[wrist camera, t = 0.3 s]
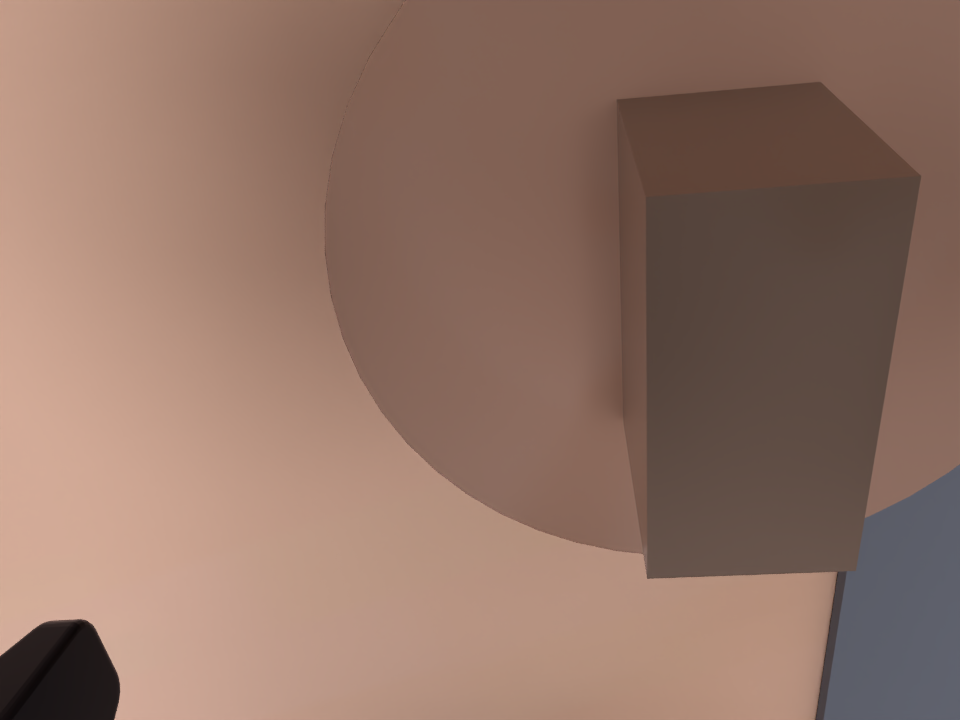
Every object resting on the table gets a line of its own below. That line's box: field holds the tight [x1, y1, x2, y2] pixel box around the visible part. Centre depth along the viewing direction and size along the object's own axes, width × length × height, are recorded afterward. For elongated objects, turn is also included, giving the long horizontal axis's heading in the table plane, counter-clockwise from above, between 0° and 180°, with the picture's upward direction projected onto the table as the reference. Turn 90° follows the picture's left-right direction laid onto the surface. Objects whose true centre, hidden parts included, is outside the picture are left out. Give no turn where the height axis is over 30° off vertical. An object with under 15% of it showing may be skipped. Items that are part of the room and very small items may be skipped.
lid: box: [325, 0, 960, 579], centre depth 14 cm, size 13×13×5 cm
